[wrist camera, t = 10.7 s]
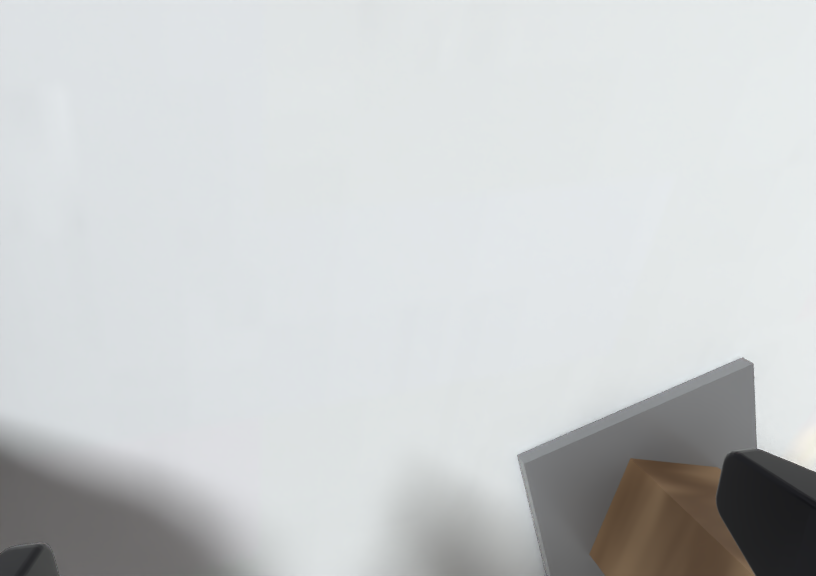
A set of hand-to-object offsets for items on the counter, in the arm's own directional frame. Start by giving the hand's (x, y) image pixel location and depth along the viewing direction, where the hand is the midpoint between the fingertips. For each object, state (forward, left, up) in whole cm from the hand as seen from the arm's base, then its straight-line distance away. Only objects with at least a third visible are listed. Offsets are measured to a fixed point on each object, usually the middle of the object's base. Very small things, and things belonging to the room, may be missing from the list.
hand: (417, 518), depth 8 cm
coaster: (+11, -17, -13) cm, 24 cm away
